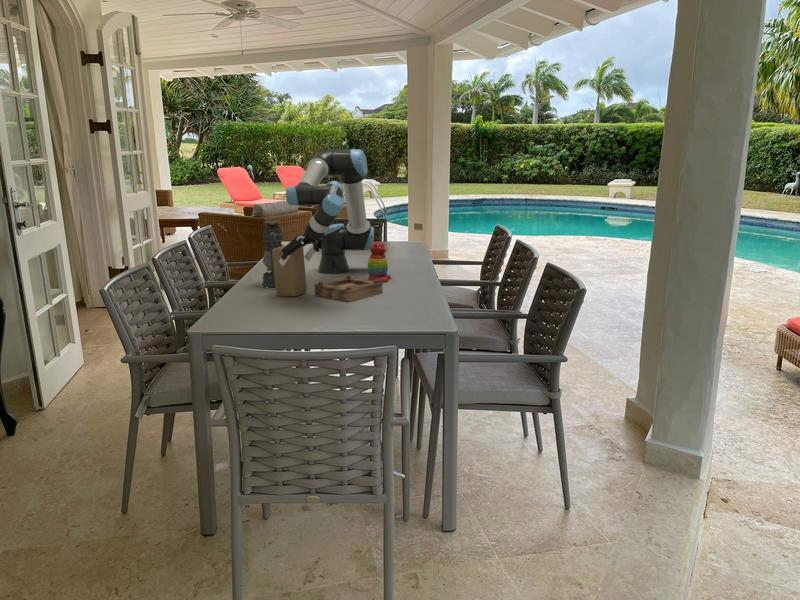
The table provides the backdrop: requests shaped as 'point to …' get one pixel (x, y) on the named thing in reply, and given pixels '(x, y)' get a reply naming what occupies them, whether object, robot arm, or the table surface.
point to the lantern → (270, 250)
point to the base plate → (348, 297)
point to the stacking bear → (378, 263)
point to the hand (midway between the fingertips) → (294, 261)
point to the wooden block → (289, 273)
